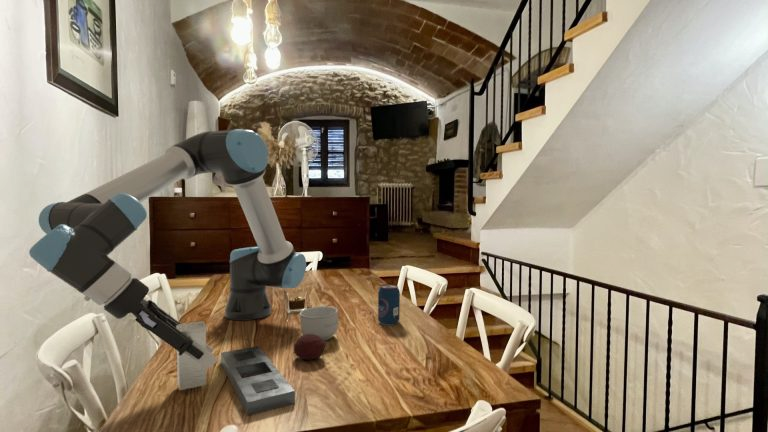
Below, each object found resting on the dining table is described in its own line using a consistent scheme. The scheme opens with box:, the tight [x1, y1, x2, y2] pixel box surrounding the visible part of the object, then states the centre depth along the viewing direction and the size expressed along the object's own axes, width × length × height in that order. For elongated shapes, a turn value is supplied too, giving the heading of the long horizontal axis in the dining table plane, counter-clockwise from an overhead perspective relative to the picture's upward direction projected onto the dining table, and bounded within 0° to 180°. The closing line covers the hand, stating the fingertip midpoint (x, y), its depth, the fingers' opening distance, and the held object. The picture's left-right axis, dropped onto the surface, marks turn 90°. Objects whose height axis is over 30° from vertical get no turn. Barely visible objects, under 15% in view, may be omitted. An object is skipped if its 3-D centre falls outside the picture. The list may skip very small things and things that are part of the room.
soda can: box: [377, 283, 401, 326], centre depth 132 cm, size 7×7×12 cm
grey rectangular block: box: [176, 320, 208, 391], centre depth 85 cm, size 5×5×12 cm
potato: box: [293, 334, 326, 360], centre depth 102 cm, size 7×8×6 cm
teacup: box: [299, 304, 339, 341], centre depth 119 cm, size 14×11×8 cm
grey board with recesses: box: [220, 345, 296, 416], centre depth 89 cm, size 28×9×3 cm, turn 31°
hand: (210, 359), depth 88 cm, fingers closed on grey rectangular block, 5 cm apart
